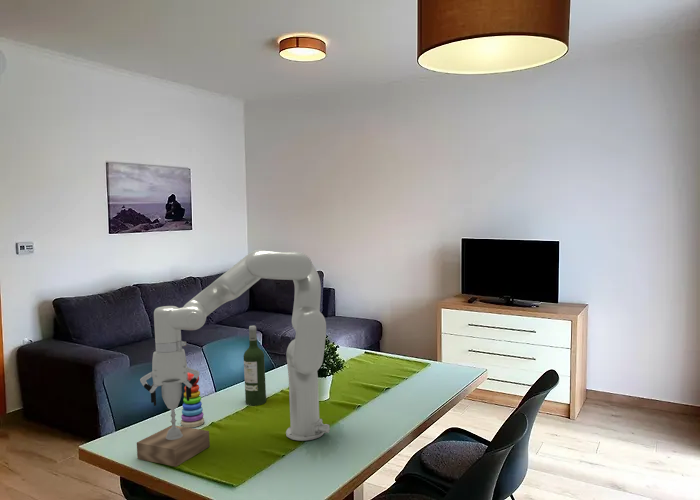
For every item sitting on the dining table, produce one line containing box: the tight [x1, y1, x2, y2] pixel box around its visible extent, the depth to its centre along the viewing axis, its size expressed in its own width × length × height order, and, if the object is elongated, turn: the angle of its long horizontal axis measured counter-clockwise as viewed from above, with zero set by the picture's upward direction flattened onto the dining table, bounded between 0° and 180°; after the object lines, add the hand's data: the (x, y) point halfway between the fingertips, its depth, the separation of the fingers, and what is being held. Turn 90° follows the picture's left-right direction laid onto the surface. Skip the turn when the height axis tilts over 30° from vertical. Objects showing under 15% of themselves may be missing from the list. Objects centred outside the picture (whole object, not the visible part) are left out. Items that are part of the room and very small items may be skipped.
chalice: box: [160, 380, 183, 440], centre depth 168 cm, size 7×7×18 cm
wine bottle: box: [243, 325, 267, 407], centre depth 212 cm, size 8×8×30 cm
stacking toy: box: [180, 373, 205, 428], centre depth 192 cm, size 8×8×19 cm
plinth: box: [136, 424, 211, 468], centre depth 168 cm, size 15×15×5 cm
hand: (171, 402), depth 168 cm, fingers open, 9 cm apart
